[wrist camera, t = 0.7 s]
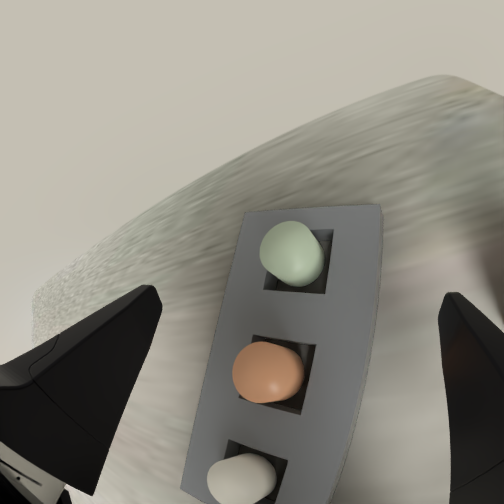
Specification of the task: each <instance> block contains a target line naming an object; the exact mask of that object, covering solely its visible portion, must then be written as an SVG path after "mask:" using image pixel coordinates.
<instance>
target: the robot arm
mask: <svg viewBox="0 0 504 504" xmlns="http://www.w3.org/2000/svg"><path fill="white" fill-rule="evenodd" d="M161 313H162V303H161V300H160V298H159V295H158V293H157V290H156V288H155V287H154V286H152V285H141V286H139V287H138V288H136V289H134V290H132V291H131V292H129V293H127V294H125V295H124V296H122V297H120V298H118V299H117V300H115V301H113V302H112V303H110V304H108V305H106V306H105V307H103V308H101V309H100V310H98V311H96V312H95V313H93V314H91V315H89V316H88V317H86V318H84V319H83V320H81V321H79V322H78V323H76V324H74V325H73V326H71V327H69V328H68V329H66V330H64V331H63V332H61V333H60V334H58V335H56V336H54V337H53V338H51V339H49V340H48V341H46V342H44V343H43V344H41V345H39V346H37V347H35V348H34V349H32V350H30V351H28V352H26V353H24V354H23V355H21V356H19V357H17V358H15V359H13V360H11V361H9V362H7V363H5V364H3V365H0V504H72V502H71V499H70V495H69V491H67V490H66V489H65V488H64V487H65V485H66V484H68V485H70V486H72V487H74V488H76V489H78V490H80V491H82V492H84V493H86V494H88V495H90V496H93V494H94V492H95V489H96V486H97V483H98V480H99V477H100V474H101V471H102V468H103V466H104V463H105V460H106V457H107V454H108V452H109V448H110V446H111V443H112V440H113V438H114V435H115V432H116V430H117V427H118V424H119V422H120V419H121V417H122V414H123V412H124V409H125V407H126V404H127V402H128V399H129V397H130V394H131V392H132V389H133V387H134V384H135V382H136V380H137V377H138V375H139V372H140V370H141V368H142V365H143V363H144V361H145V358H146V356H147V354H148V351H149V349H150V346H151V343H152V340H153V337H154V334H155V331H156V328H157V325H158V322H159V319H160V316H161ZM438 325H439V334H440V345H441V358H442V368H443V375H444V382H445V389H446V397H447V406H448V416H449V429H450V449H451V484H450V500H449V504H504V333H503V332H502V331H501V330H500V329H499V328H498V327H497V326H496V325H495V324H494V323H493V322H492V321H491V320H489V319H488V318H487V317H486V316H485V315H484V314H483V313H482V312H481V311H480V310H479V309H477V308H476V307H475V306H474V305H473V304H472V303H471V302H470V301H468V300H467V299H466V298H465V297H464V296H463V295H462V294H460V293H459V292H448V293H446V294H445V296H444V299H443V302H442V305H441V308H440V311H439V315H438Z"/></svg>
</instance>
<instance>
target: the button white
mask: <svg viewBox="0 0 504 504" xmlns="http://www.w3.org/2000/svg"><path fill="white" fill-rule="evenodd" d="M276 483H277V475H276V471H275V469H274V467H273V466H272V464H271V463H270V462H269V461H268V460H267V459H266V458H264V457H262V456H261V455H258V454H255V453H244V454H241V455H238V456H235V457H231V458H228V459H225V460H221V461H218V462H216V463H215V464H213V465H212V466H211V468H210V469H209V471H208V475H207V484H208V488H209V490H210V492H211V494H212V495H213V497H214V498H215V499H216V500H217V501H218V502H219V503H221V504H254V503H255V502H257V501H259V500H260V499H262V498H264V497H265V496H267V495H269V494H270V493H271V492H272V491H273V490H274V488H275V486H276Z"/></svg>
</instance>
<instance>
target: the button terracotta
mask: <svg viewBox="0 0 504 504" xmlns="http://www.w3.org/2000/svg"><path fill="white" fill-rule="evenodd" d="M304 376H305V369H304V364H303V362H302V360H301V358H300V357H299V355H298V354H297V353H296V352H294V351H293V350H291V349H289V348H287V347H283V346H279V345H275V344H272V343H268V342H255V343H252V344H249V345H248V346H246V347H245V348H243V349H242V350H241V351H240V353H239V354H238V355H237V357H236V359H235V361H234V365H233V370H232V377H233V382H234V385H235V387H236V389H237V391H238V392H239V393H240V395H241V396H242V397H244V398H245V399H247V400H249V401H251V402H255V403H266V402H274V401H282V400H286V399H289V398H290V397H292V396H294V395H295V394H296V393H297V392H298V391H299V389H300V388H301V386H302V384H303V381H304Z"/></svg>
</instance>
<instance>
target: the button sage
mask: <svg viewBox="0 0 504 504" xmlns="http://www.w3.org/2000/svg"><path fill="white" fill-rule="evenodd" d="M260 260H261V263H262V264H263V266H264V267H265V268H266V269H267V270H268V271H269V272H271V273H272V274H273V275H275V276H276V277H277V278H279V279H280V280H281V281H283V282H284V283H285V284H287V285H289V286H292V287H302V286H306V285H308V284H310V283H312V282H313V281H315V280H316V279H317V278H318V277H319V275H320V274H321V272H322V271H323V268H324V265H325V252H324V250H323V248H322V246H321V245H320V243H319V242H318V241H317V239H316V238H315V237H314V235H313V234H312V233H311V231H310V230H309V229H308V228H307V227H306V226H305V225H304V224H302V223H300V222H297V221H286V222H282V223H280V224H278V225H276V226H274V227H273V228H272V229H271V230H269V231H268V233H267V234H266V235H265V237H264V238H263V240H262V243H261V246H260Z"/></svg>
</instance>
